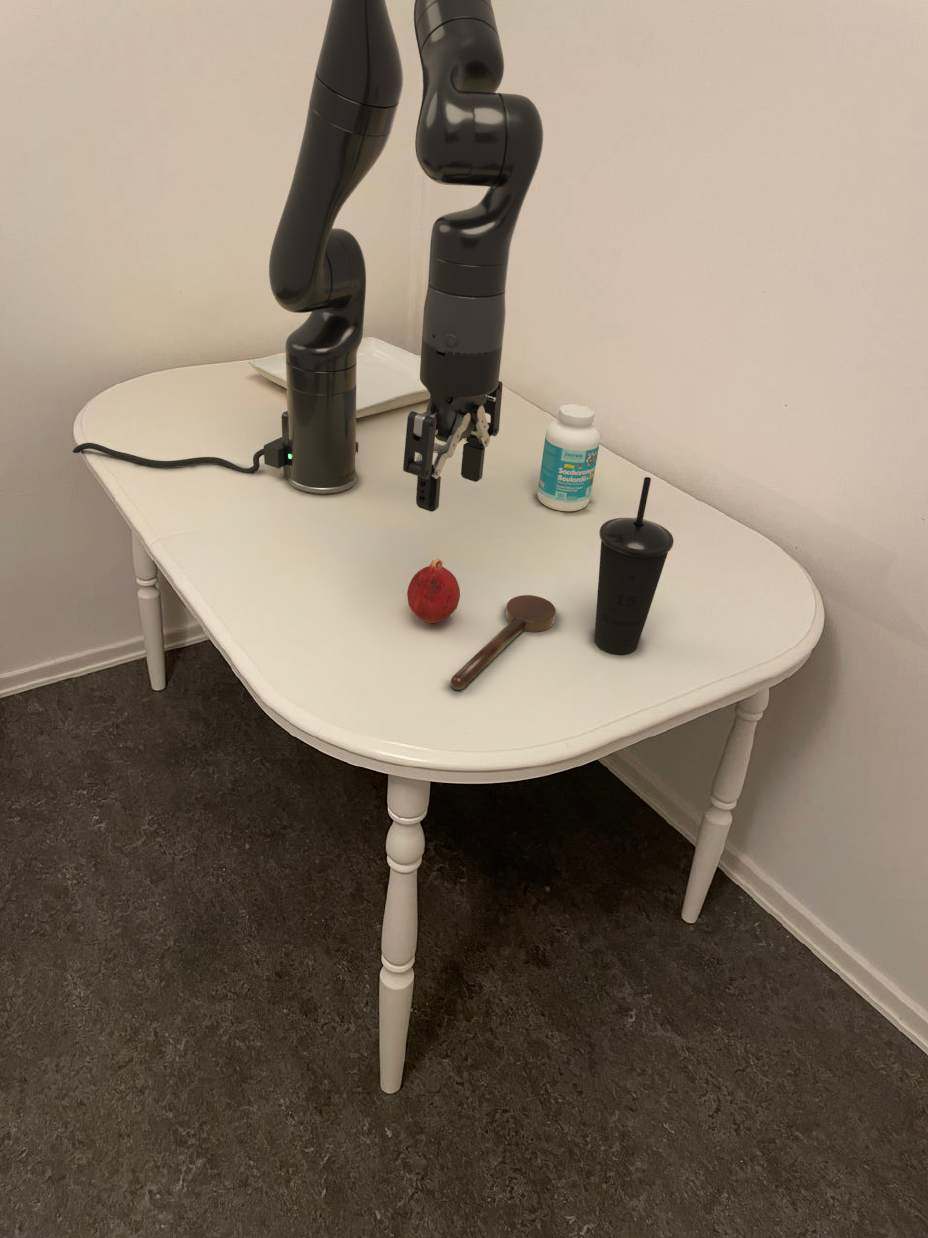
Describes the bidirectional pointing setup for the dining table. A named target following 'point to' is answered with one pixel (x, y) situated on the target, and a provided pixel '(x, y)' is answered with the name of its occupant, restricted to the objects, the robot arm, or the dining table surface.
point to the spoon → (509, 633)
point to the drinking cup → (628, 577)
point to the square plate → (368, 376)
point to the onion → (433, 593)
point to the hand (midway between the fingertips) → (449, 493)
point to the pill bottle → (569, 459)
